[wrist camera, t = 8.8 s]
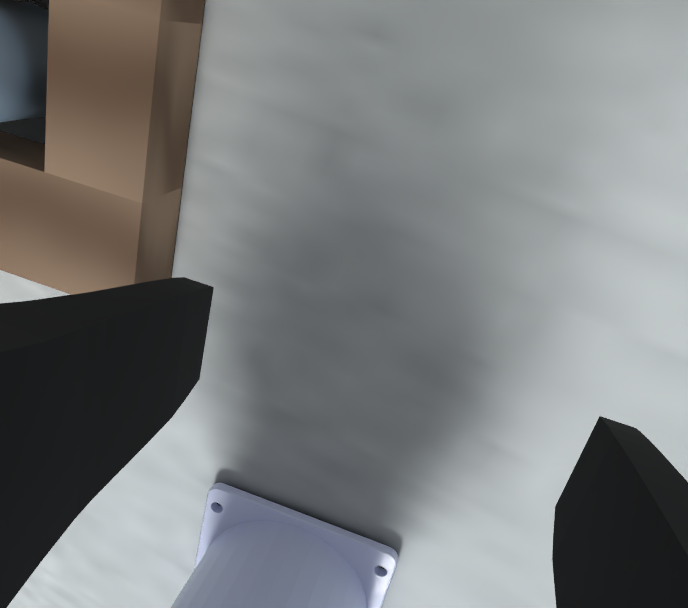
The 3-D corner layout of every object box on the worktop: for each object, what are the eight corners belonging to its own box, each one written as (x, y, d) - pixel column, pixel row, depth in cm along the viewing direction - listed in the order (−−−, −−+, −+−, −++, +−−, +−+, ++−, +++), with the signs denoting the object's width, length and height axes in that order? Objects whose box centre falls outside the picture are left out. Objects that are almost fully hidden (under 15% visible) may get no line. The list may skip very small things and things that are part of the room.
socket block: (169, 289, 23) (131, 315, 21) (-106, 196, 25) (-169, 211, 22) (220, -125, 17) (176, -152, 15) (-137, -208, 19) (-224, -242, 17)
